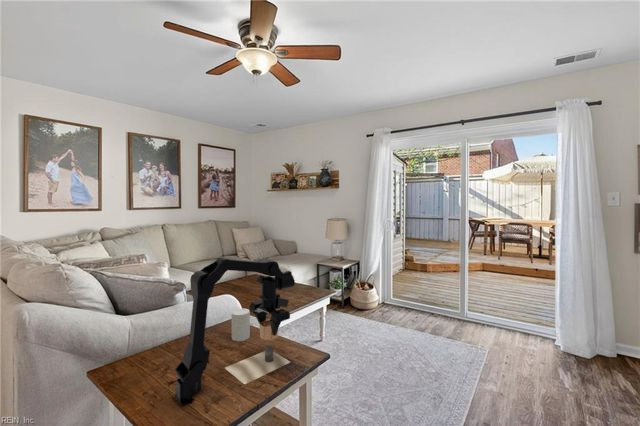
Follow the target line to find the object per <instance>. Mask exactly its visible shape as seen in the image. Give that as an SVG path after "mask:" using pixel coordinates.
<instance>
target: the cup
mask: <svg viewBox="0 0 640 426" xmlns="http://www.w3.org/2000/svg"><path fill="white" fill-rule="evenodd" d="M250 311H251V310H250V309H248V308H237V309H234V310H232V311H231V340H232V341H235V342H244V341H247V340H249V338H250V336H251V335H250V334H251V333H250V332H251V328H250V327H251V326H250V325H251V317H250V314H251V312H250ZM246 339H247V340H246Z"/></svg>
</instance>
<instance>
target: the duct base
mask: <svg viewBox="0 0 640 426" xmlns="http://www.w3.org/2000/svg"><path fill="white" fill-rule="evenodd" d="M290 363H291V361H290V360H288V359H286V358H285V357H283V356H281V355H280V354H279V353H277V352H275V351H274V346H273V345H271V344H270V345H266V346H265V347H264V350H263V351H261V352H259V353H257V354H254V355H252V356H250V357H248V358H245V359H243V360H240V361H238V362H236V363H233V364H230V365H228V366H225V367H224V369H225V370H226V371H228V373H230V374H231V375H232V376H233V377H234V378H236V379H237V380H239V382H241V383H242V384H244V385H246V384H249V383H251V382H253V381H255V380H257V379H260V378H261V377H263V376H265V375H267V374H269V373H271V372H273V371H276V370H278V369H280V368H283V366H286V365H288V364H290Z"/></svg>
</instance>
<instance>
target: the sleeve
mask: <svg viewBox="0 0 640 426" xmlns="http://www.w3.org/2000/svg"><path fill="white" fill-rule="evenodd" d="M269 320H270V319H266V320H264V321H261V323H260V324H259V338H260V339H262V340H264V341H267V340H268V341H270V340H271V341H273V340H275V339H277V338H278V337H279V330H278V331H277V334H276V335H275V336H273V333H272V329H271V325H270V321H269Z"/></svg>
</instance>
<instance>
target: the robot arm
mask: <svg viewBox="0 0 640 426" xmlns="http://www.w3.org/2000/svg"><path fill="white" fill-rule="evenodd" d="M227 271H232V272H233V271H234V272H235V271H236V272H248V273H249V272H251V273H258V274H261V275H259V277H258V278H257V279H256V280H255V281H256V283H259V284H261V294H260V295H258V298H259V300H257V301H252V302H250V304H249V310H250V311H251V312H252V314H253V315H254V317H255V318H256V319H257V322H258V324H259V325H260V323H261V321H264V320H267V315H268V314H269V315H270V318H271V319H270V318H269V319H268V320H269V321H270V325H271V329H272V333H273V336H275V335H276V334H277V331H278V332H279V328H280V326H281V323H282V322H284V321H286V320H287V321H288V320H289V319H290V318H291V313H290V311H288V310H286V309H287V308H288V306H289V302H290V300H289V299H288V298H285V297H282V296H281V294H280V293H278V292H277V290H278V291H283V290H287V289H292V288H294V286H295V283H296V282H295V281H296V280H295V278H294V276H293V274H292V271H291V270H286V271H282V270H281V269H280V265H279V264H278V262H277V261H275V260H271V259H268V258H263V259H258V260H257V259H256V260H247V259H236V258H235V259H234V258H226V257H222V256H221V257H218V258H217V259H216V260H214V262H211V263H209V264H207V265H205V266H204V267H202V269H200V270H197V271H195V272H194V273H193V274H191V276H190V279H189V280H190V291H191V296H192V301H193V302H192V311H191V318H190V319H191V320H190V328H189V340H188V344H187V346H186V347H185V349H184V353H183V357H182V360H181V362H180V363H178V365H177V366H176V367H175V368H174V372H175V374H176V376H177V377H178V379H176V394H175V395H174V398H175V400H176V401H177V402H178V403H179V405H180V406H186V405H188V404H190V403H192V402H194V401H195V398H194V396H196V395H197V394H198V393H199V392H200V391H201V390H202V378H203V373H204V371H206V369H207V367H208V364H210V359H209V358H210V353H211V352H210V351H211V350H210V349H209V348H208V347H207V346H206V345H205V338H206V337H205V335H206V328H207V327H206V326H207V316H208V315H207V314H208V304H209V299H210V298H211V296H212V295H213V292H214V289H215V284H216V283H218V282H220V281H221V279H222V278H223V276H224V275H225V273H227ZM264 275H265V276H264ZM281 307H283V308H286V309H283V308H281Z"/></svg>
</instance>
